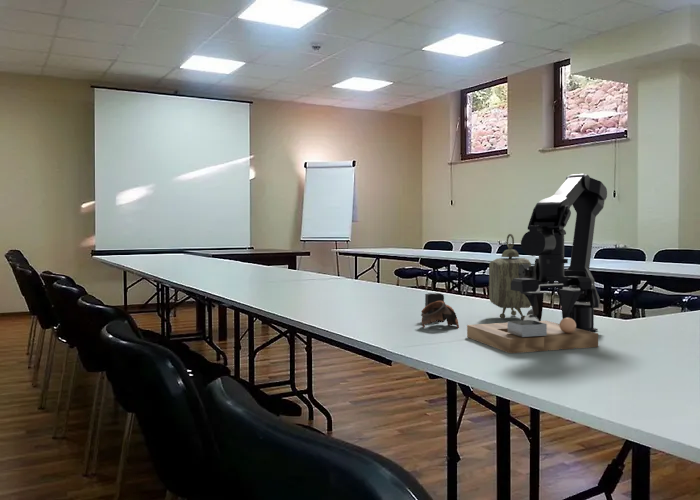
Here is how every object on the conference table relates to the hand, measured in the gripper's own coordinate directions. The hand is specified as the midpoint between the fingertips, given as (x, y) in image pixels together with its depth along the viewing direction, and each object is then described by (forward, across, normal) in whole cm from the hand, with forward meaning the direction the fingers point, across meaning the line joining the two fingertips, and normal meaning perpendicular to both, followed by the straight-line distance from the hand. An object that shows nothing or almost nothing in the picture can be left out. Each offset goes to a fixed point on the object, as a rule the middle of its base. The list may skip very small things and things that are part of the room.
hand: (551, 320), depth 139 cm
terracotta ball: (0, +1, +7) cm, 7 cm away
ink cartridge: (+5, +14, -37) cm, 40 cm away
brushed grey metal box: (+1, +11, +7) cm, 13 cm away
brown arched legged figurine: (+5, +17, -26) cm, 32 cm away
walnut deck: (+5, +6, 0) cm, 8 cm away
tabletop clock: (+5, -8, -33) cm, 34 cm away
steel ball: (0, +5, 0) cm, 5 cm away
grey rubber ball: (0, 0, -8) cm, 8 cm away
